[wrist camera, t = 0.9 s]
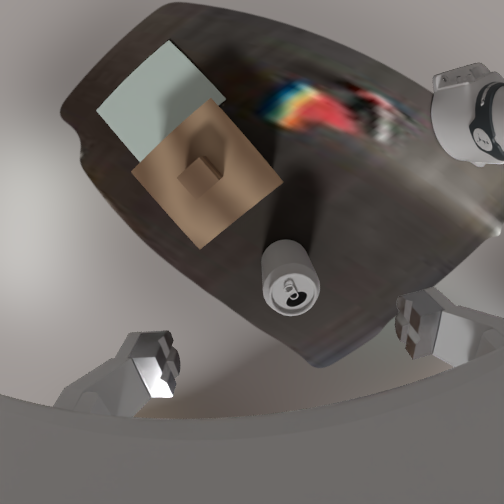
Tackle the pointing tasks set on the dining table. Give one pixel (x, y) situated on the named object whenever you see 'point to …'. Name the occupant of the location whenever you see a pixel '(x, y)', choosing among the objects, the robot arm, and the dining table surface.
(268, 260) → the can
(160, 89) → the mat
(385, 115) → the dining table surface
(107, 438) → the robot arm
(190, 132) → the lid
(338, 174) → the dining table surface
